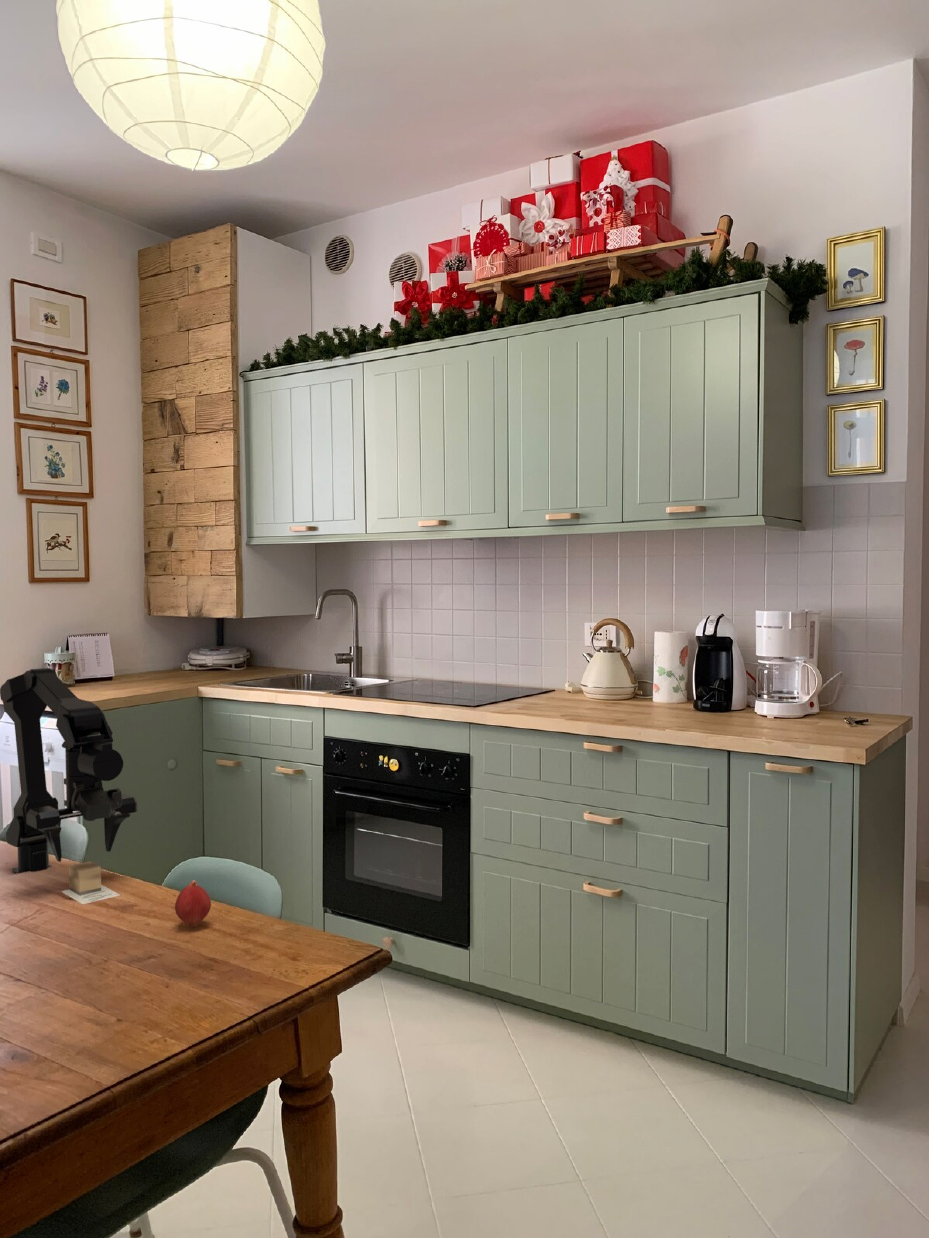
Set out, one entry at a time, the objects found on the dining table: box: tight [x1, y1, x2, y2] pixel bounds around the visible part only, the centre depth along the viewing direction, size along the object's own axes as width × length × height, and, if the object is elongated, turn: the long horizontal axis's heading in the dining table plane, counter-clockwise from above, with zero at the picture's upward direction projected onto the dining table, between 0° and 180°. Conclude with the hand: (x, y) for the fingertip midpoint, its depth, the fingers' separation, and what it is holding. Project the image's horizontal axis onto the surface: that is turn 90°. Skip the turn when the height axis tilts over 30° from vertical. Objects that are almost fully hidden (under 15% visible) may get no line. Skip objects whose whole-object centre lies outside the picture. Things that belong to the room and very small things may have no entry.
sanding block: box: [68, 861, 102, 896], centre depth 176 cm, size 5×4×4 cm
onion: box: [174, 880, 212, 928], centre depth 159 cm, size 6×6×8 cm
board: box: [61, 884, 121, 905], centre depth 174 cm, size 10×7×1 cm
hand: (84, 856), depth 176 cm, fingers open, 9 cm apart
